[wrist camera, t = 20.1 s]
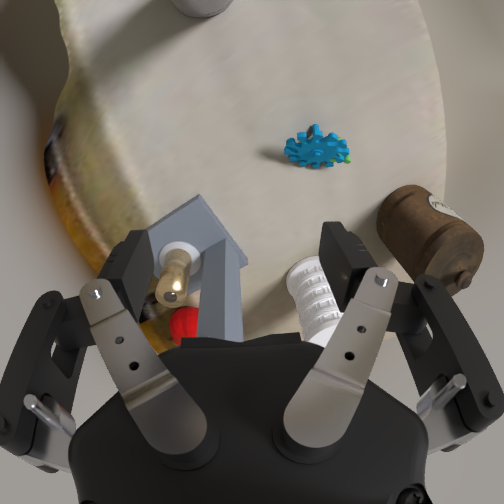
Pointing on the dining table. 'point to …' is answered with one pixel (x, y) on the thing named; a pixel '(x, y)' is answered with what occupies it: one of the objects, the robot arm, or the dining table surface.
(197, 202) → the press
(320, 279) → the decorative container
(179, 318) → the tomato
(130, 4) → the dining table surface
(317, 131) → the gear
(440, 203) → the wooden container
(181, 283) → the disc
